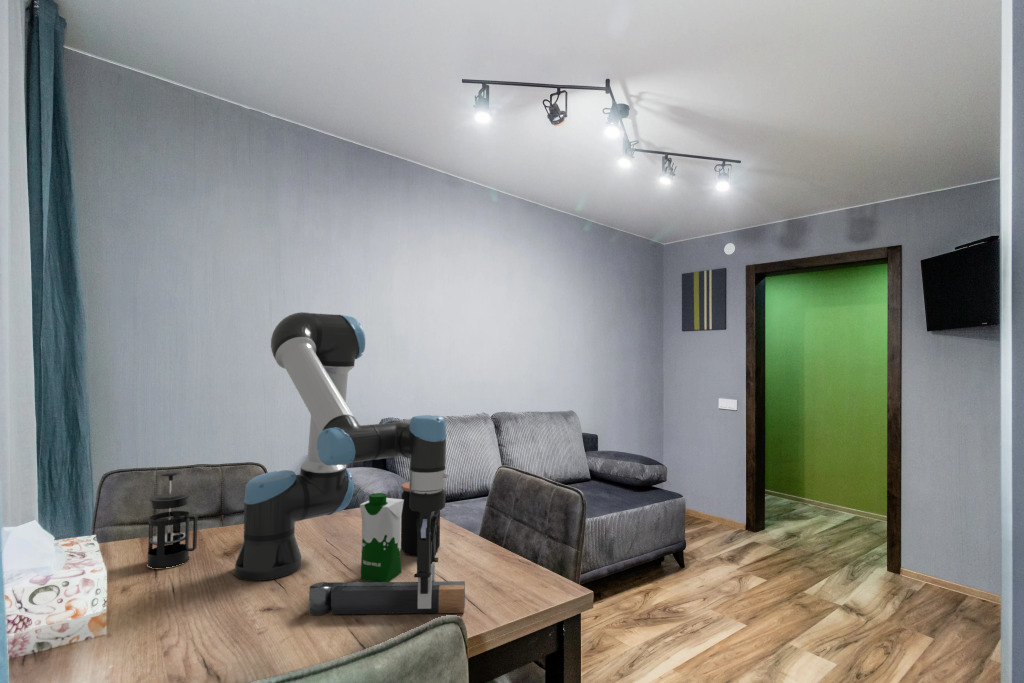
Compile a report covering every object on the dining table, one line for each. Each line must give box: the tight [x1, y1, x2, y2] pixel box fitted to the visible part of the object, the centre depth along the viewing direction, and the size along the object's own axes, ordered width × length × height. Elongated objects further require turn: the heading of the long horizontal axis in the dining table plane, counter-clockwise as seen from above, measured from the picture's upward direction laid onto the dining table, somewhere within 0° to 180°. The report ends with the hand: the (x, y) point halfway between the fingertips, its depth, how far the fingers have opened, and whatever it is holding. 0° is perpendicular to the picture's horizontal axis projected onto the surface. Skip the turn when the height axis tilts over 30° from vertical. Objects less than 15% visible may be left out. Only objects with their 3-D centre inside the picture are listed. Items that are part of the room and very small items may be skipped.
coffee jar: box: [401, 481, 441, 557], centre depth 149 cm, size 11×11×18 cm
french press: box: [146, 471, 198, 568], centre depth 139 cm, size 12×9×23 cm
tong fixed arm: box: [308, 580, 466, 617], centre depth 113 cm, size 32×4×5 cm, turn 92°
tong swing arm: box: [331, 584, 466, 615], centre depth 112 cm, size 27×2×5 cm, turn 92°
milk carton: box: [359, 492, 404, 582], centre depth 131 cm, size 9×9×20 cm
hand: (426, 600), depth 113 cm, fingers open, 5 cm apart
